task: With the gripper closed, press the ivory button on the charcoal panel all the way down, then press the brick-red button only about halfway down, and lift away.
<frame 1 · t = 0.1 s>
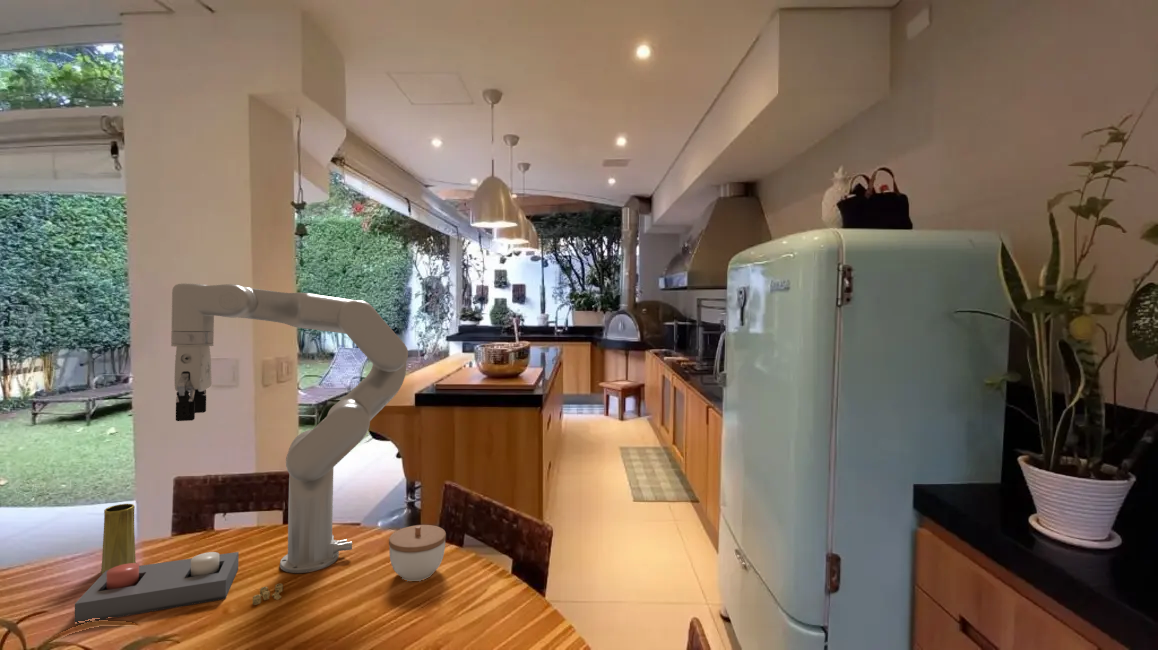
hand: (191, 416, 114), 37 cm above the table, tool pointing down, fingers open, 9 cm apart
ivory button: (205, 564, 112), point 5 cm above the table, slide at 0.0 cm
red button: (123, 576, 106), point 5 cm above the table, slide at 0.0 cm
dice set: (268, 600, 109), on the table
vase: (118, 569, 119), on the table
button panel: (164, 593, 109), on the table
lidded bowl: (417, 575, 120), on the table
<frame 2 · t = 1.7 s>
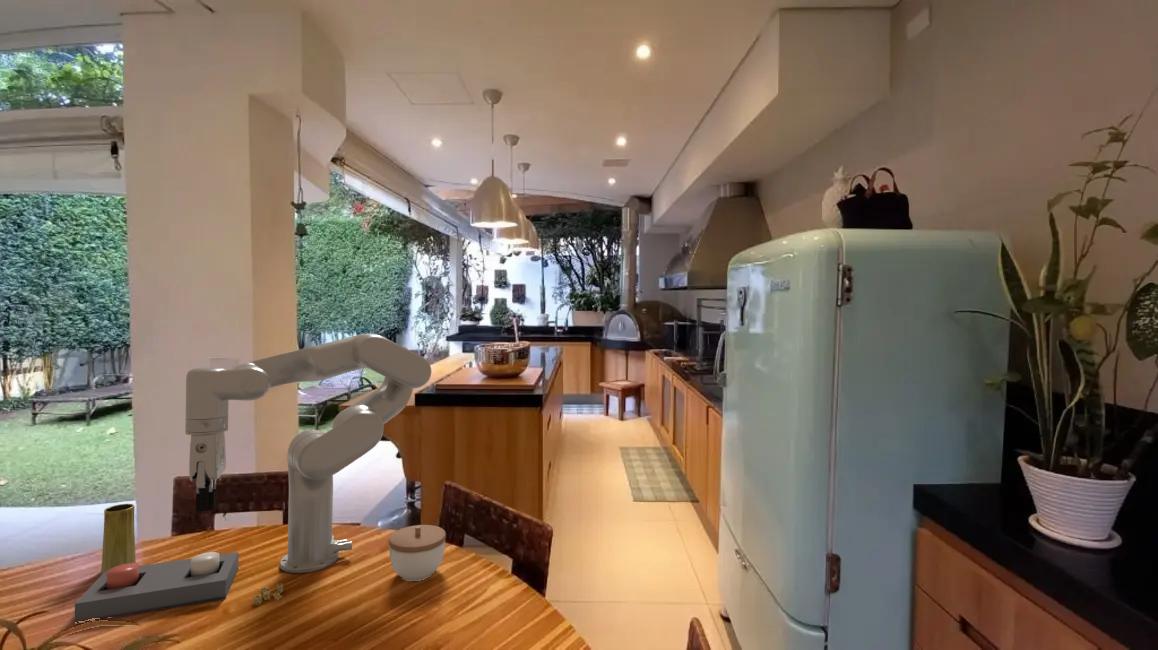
hand: (206, 509, 112), 17 cm above the table, tool pointing down, fingers closed
nothing on the table moved.
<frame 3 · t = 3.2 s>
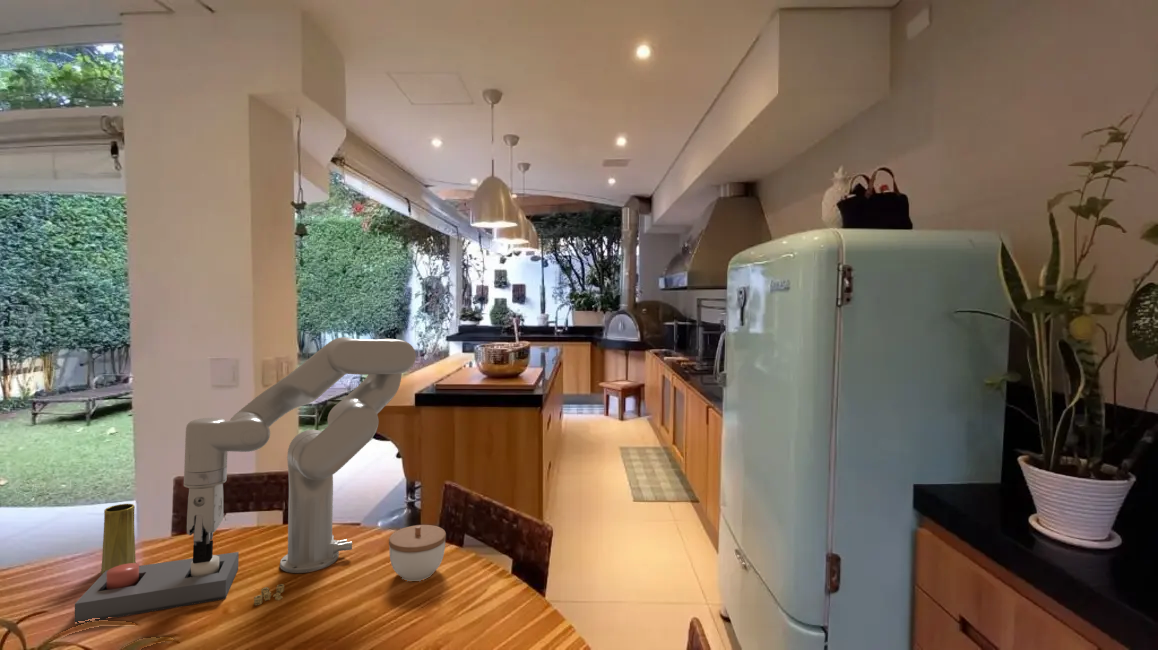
hand: (202, 560, 112), 6 cm above the table, tool pointing down, fingers closed
ivory button: (205, 567, 112), point 4 cm above the table, slide at 0.7 cm, touching gripper
everything else where it was.
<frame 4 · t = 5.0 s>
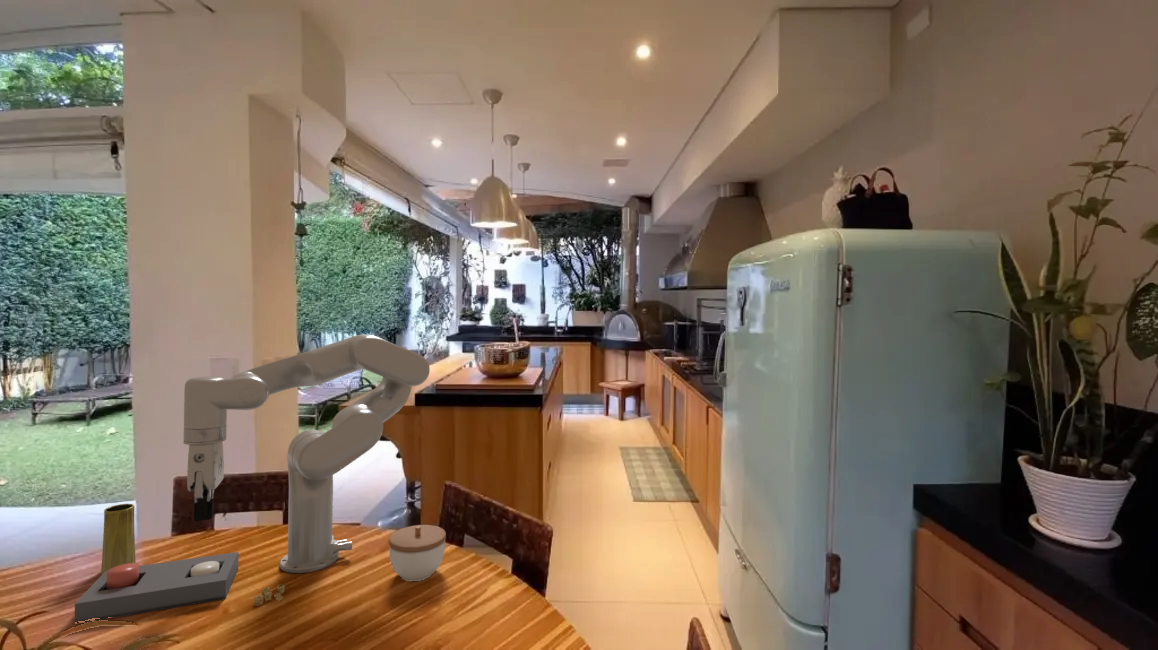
hand: (203, 518, 112), 15 cm above the table, tool pointing down, fingers closed
ivory button: (205, 573, 112), point 3 cm above the table, slide at 2.0 cm
everything else where it was.
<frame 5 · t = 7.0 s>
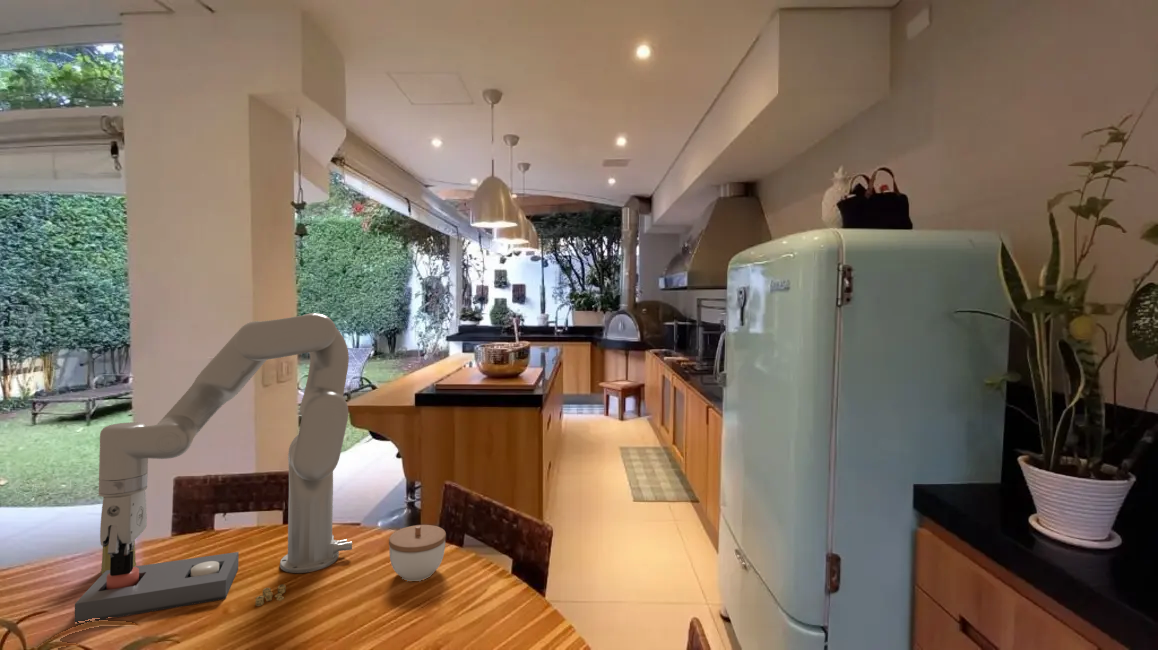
hand: (121, 572, 106), 6 cm above the table, tool pointing down, fingers closed
red button: (122, 580, 106), point 4 cm above the table, slide at 0.8 cm, touching gripper
everything else where it was.
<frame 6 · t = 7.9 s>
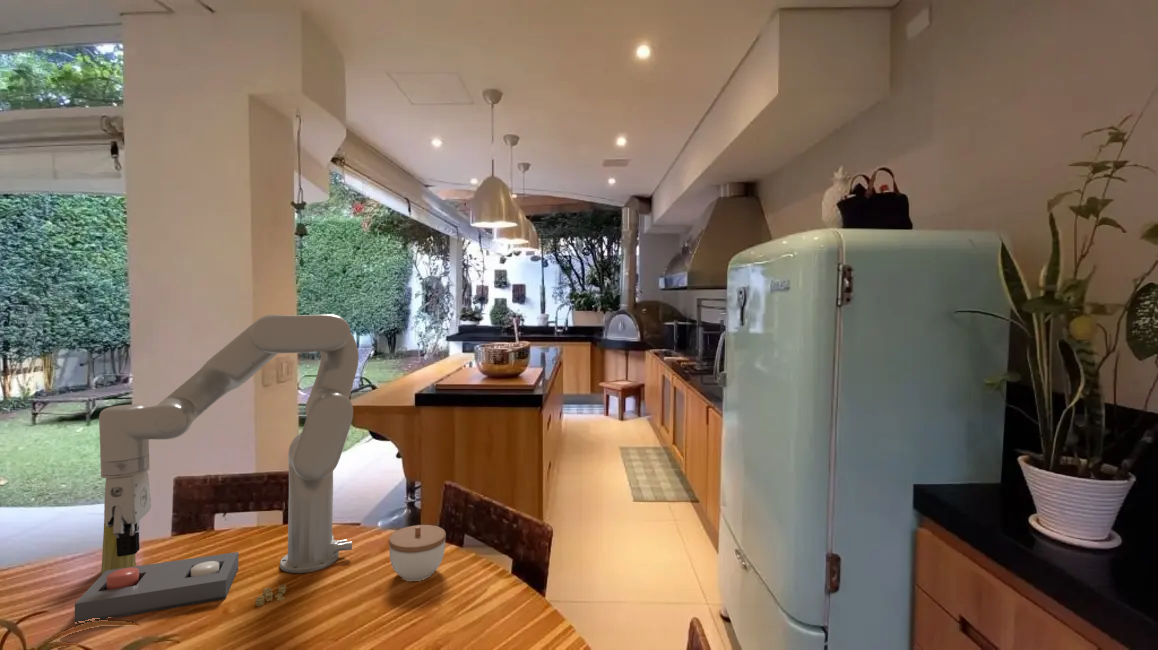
hand: (128, 553, 106), 10 cm above the table, tool pointing down, fingers closed
red button: (122, 581, 106), point 4 cm above the table, slide at 0.9 cm
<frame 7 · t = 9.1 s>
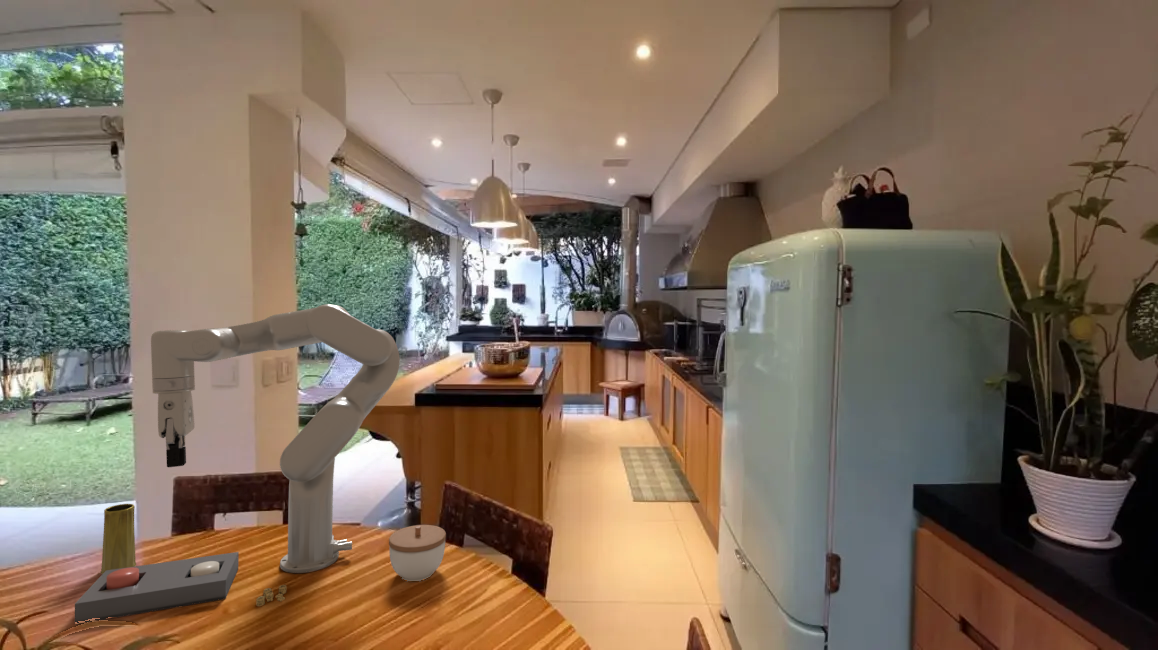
hand: (176, 465, 116), 25 cm above the table, tool pointing down, fingers closed
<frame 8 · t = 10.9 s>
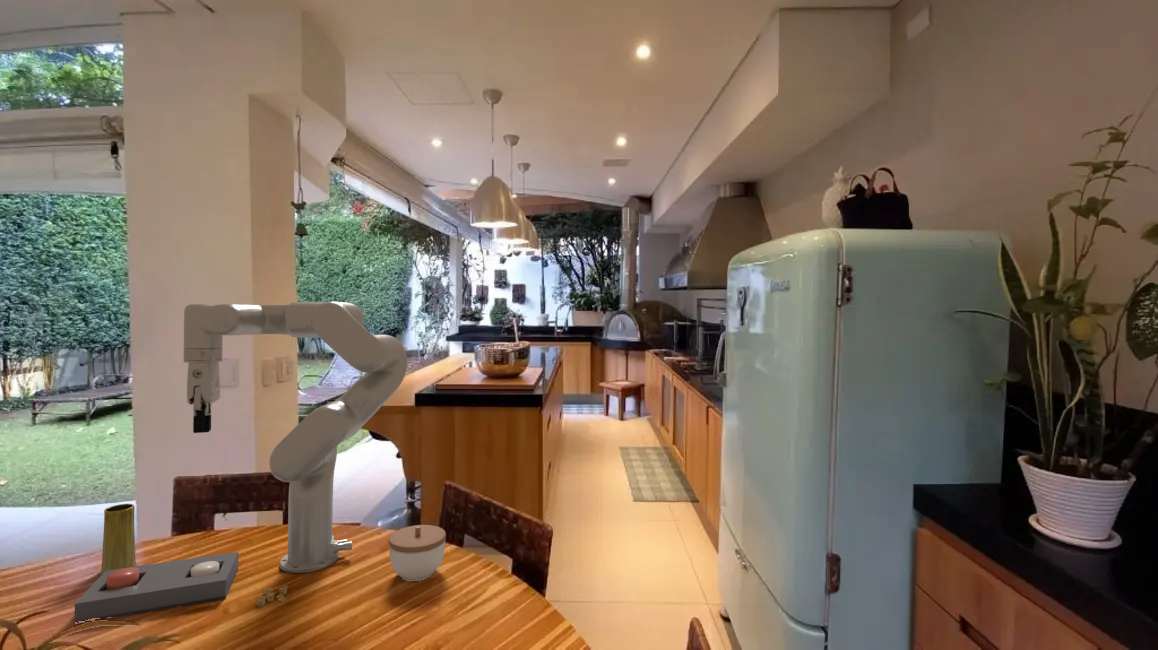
hand: (202, 431, 124), 31 cm above the table, tool pointing down, fingers closed
at the end: ivory button slide at 2.0 cm; red button slide at 0.9 cm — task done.
